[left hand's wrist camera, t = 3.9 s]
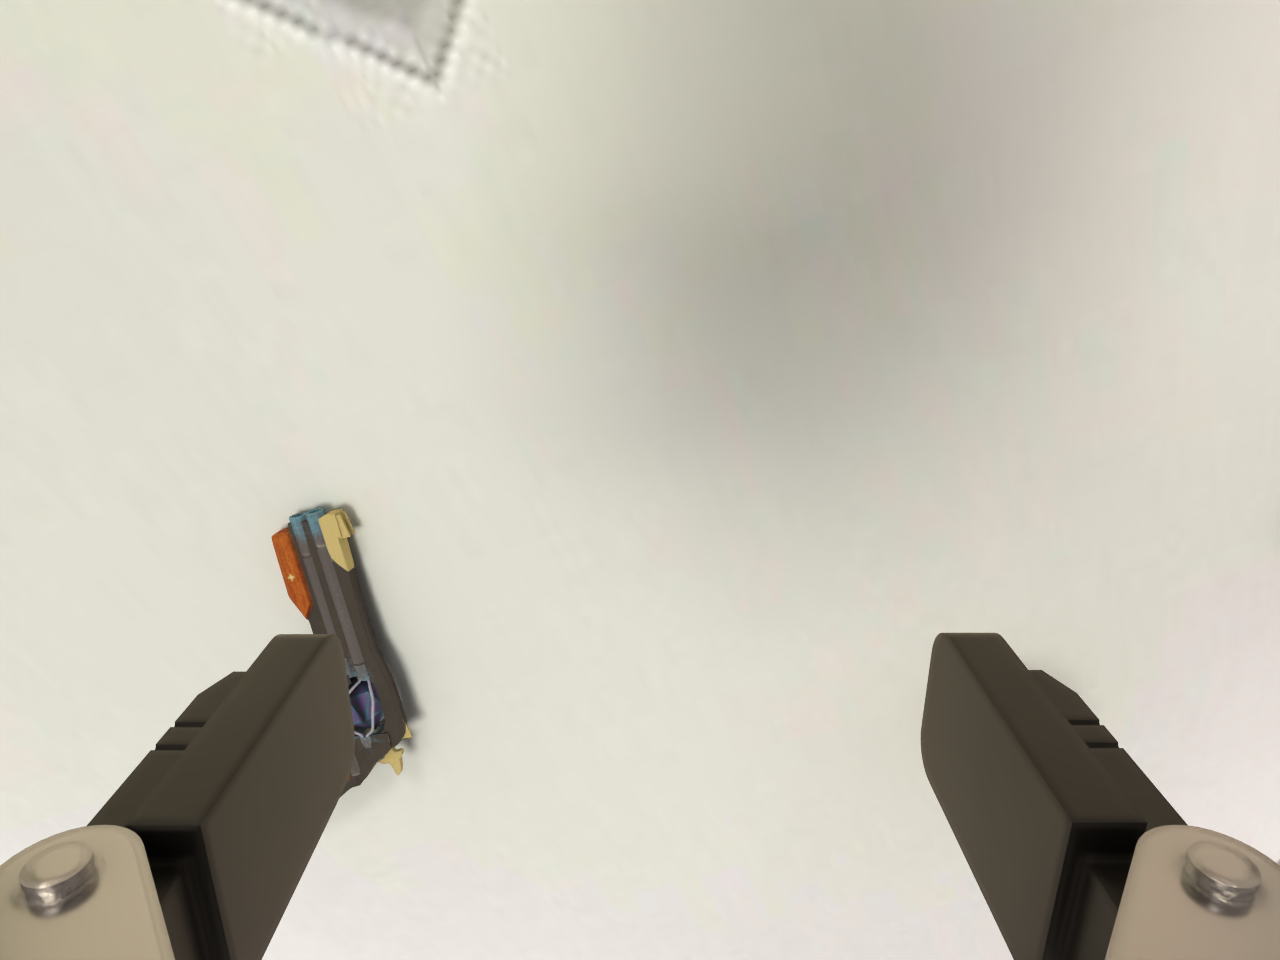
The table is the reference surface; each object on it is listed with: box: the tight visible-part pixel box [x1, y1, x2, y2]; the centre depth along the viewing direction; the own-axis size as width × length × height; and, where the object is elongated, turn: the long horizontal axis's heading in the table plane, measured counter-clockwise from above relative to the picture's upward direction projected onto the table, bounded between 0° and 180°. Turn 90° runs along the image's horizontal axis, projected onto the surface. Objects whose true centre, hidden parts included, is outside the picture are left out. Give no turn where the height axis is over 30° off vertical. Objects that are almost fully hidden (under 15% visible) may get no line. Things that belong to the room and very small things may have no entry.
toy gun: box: [272, 508, 412, 797], centre depth 47 cm, size 3×19×10 cm
